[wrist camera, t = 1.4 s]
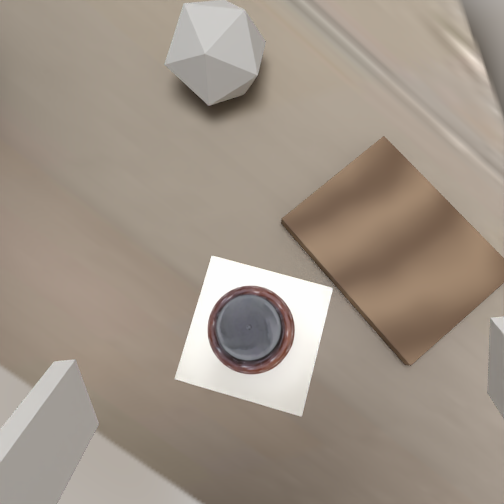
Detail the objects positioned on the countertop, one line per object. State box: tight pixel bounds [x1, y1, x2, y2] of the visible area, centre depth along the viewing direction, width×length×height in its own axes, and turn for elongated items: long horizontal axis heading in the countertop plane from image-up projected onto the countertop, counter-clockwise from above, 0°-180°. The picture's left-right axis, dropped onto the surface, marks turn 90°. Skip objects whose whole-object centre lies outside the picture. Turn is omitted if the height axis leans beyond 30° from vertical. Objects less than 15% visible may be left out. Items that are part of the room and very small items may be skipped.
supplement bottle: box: [208, 286, 295, 374], centre depth 32 cm, size 6×6×11 cm
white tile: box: [175, 256, 333, 417], centre depth 38 cm, size 11×11×1 cm
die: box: [164, 0, 266, 106], centre depth 40 cm, size 8×9×10 cm
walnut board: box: [281, 136, 504, 366], centre depth 39 cm, size 16×12×2 cm
